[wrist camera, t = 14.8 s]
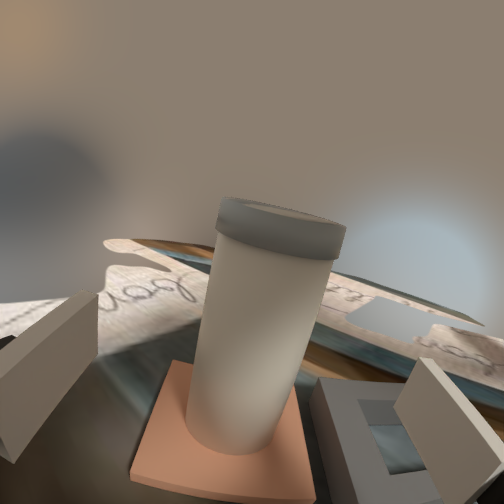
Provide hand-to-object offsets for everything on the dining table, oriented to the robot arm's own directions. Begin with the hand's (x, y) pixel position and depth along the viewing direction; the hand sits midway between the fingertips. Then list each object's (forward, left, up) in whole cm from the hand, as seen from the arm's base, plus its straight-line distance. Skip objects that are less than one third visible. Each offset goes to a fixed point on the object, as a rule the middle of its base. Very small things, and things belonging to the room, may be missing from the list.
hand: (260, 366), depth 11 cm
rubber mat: (0, -7, -11) cm, 13 cm away
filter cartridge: (0, -7, -10) cm, 12 cm away
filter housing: (-14, -5, -11) cm, 19 cm away
